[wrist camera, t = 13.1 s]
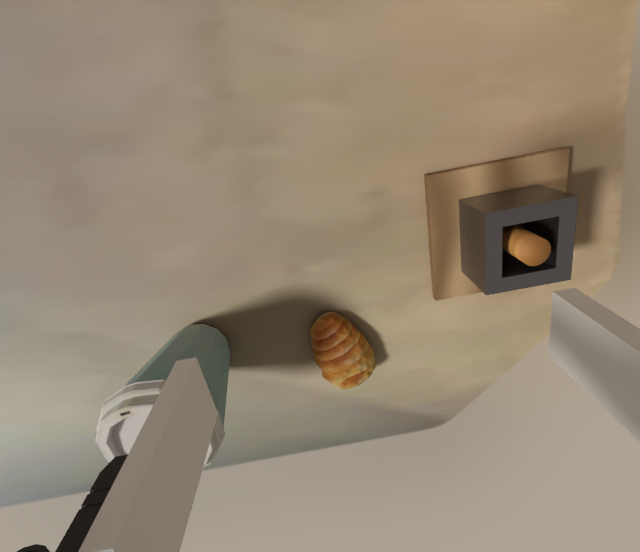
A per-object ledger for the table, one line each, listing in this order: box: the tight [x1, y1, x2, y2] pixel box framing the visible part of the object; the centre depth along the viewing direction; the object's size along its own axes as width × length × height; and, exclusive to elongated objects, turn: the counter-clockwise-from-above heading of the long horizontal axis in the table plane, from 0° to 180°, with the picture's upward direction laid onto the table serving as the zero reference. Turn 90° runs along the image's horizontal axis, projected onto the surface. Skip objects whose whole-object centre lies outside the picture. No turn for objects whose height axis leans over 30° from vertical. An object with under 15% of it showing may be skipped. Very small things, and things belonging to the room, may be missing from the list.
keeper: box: [424, 147, 570, 300], centre depth 37 cm, size 14×14×8 cm
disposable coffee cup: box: [95, 324, 230, 468], centre depth 38 cm, size 11×11×15 cm
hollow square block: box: [459, 184, 578, 295], centre depth 37 cm, size 8×8×6 cm
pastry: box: [310, 312, 376, 389], centre depth 44 cm, size 9×7×4 cm
